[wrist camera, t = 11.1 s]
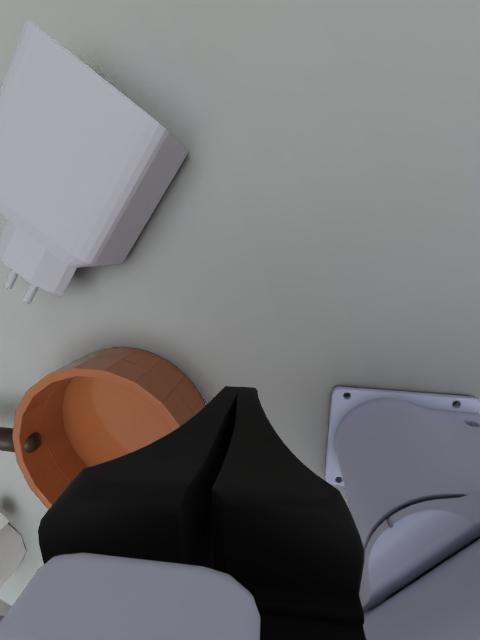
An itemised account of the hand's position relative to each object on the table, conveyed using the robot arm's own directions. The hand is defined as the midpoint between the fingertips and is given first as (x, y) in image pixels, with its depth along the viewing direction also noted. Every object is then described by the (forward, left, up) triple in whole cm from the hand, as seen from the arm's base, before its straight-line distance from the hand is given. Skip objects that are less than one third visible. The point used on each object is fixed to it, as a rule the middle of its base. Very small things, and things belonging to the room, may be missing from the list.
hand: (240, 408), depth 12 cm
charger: (+13, -9, -10) cm, 19 cm away
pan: (+11, +8, -10) cm, 16 cm away
